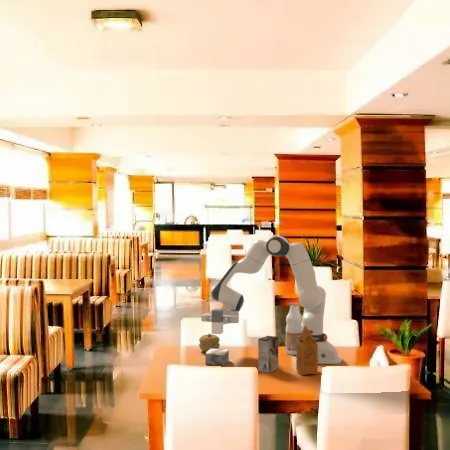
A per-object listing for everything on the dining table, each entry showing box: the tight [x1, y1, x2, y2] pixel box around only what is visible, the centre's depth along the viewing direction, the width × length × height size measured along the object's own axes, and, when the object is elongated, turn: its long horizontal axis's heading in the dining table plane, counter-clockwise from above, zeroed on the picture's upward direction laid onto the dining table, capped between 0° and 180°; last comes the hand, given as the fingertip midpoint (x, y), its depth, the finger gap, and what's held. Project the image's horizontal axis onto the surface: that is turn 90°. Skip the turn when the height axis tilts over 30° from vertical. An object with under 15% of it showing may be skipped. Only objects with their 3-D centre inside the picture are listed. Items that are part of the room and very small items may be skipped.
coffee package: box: [295, 326, 319, 376], centre depth 275 cm, size 10×12×22 cm
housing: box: [211, 308, 224, 335], centre depth 292 cm, size 5×5×12 cm
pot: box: [198, 333, 221, 353], centre depth 316 cm, size 12×12×10 cm
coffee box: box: [257, 335, 279, 374], centre depth 279 cm, size 9×6×16 cm
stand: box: [205, 348, 230, 367], centre depth 293 cm, size 10×10×6 cm
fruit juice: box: [285, 302, 303, 356], centre depth 312 cm, size 9×9×28 cm
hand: (217, 320), depth 291 cm, fingers closed on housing, 5 cm apart
